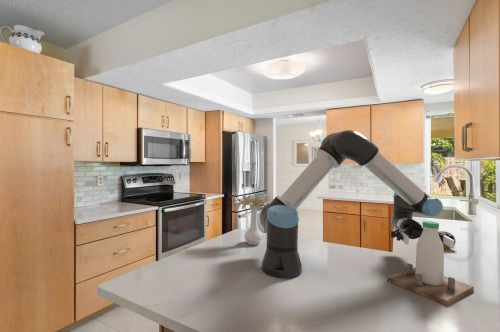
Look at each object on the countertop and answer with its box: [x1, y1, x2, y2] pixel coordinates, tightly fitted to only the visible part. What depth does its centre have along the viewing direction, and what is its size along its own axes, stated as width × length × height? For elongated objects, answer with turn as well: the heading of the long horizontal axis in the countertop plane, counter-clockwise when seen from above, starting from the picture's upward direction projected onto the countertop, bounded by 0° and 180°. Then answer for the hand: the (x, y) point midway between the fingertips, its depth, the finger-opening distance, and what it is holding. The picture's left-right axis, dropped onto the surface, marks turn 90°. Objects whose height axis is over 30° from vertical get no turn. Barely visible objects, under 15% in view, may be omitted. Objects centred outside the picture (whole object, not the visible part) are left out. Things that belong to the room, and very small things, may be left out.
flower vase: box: [234, 192, 272, 246], centre depth 132 cm, size 13×18×25 cm
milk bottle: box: [415, 220, 445, 286], centre depth 89 cm, size 8×8×20 cm
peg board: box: [386, 263, 475, 306], centre depth 89 cm, size 18×18×5 cm
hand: (429, 242), depth 90 cm, fingers open, 13 cm apart
